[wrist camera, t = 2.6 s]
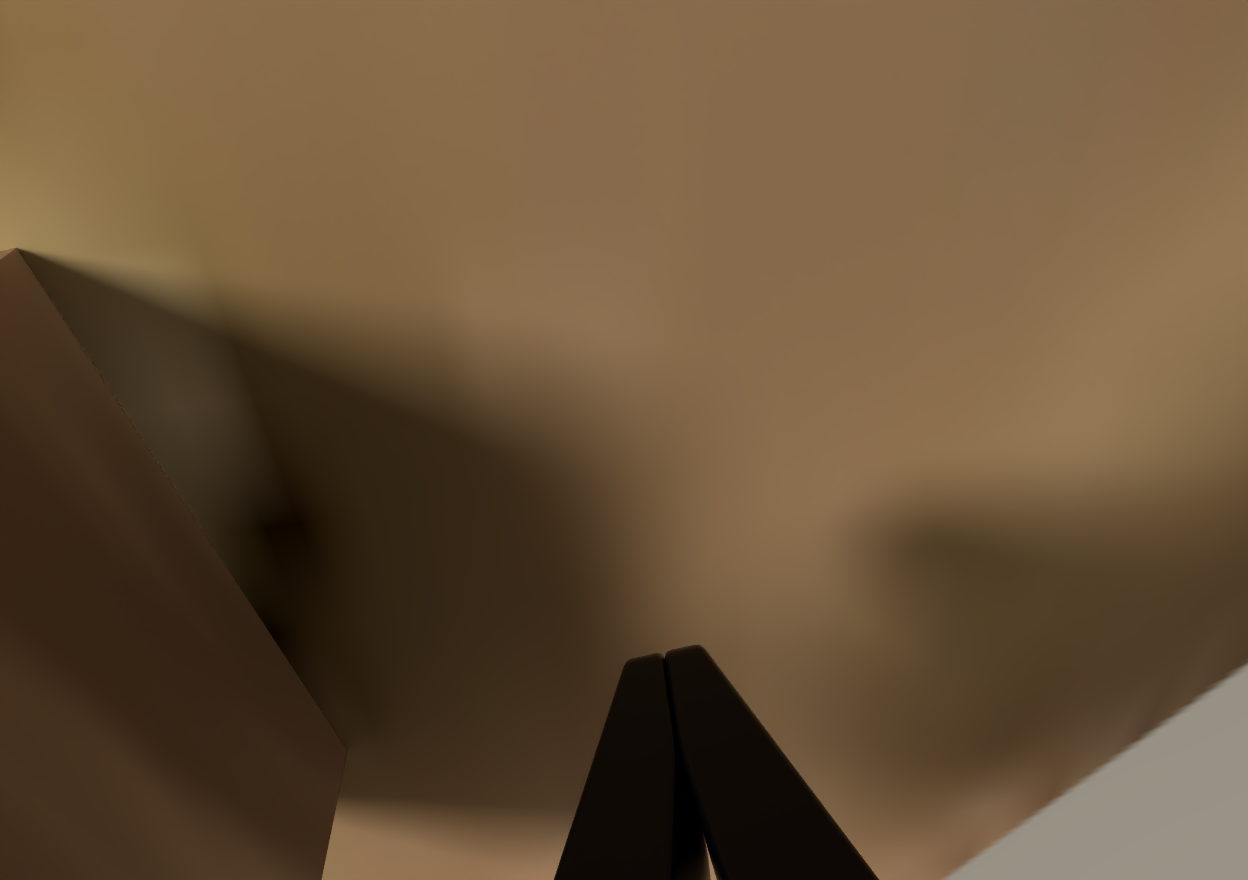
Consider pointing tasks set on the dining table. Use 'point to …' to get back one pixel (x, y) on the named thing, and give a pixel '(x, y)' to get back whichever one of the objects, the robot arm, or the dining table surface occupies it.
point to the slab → (132, 652)
